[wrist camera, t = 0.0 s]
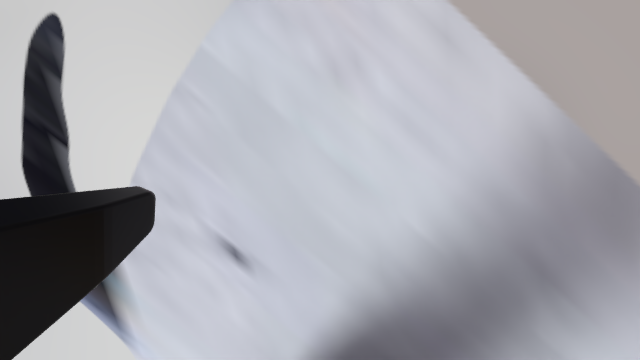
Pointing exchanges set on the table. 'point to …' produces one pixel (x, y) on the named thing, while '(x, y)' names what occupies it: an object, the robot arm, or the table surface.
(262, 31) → the table surface
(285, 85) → the table surface
